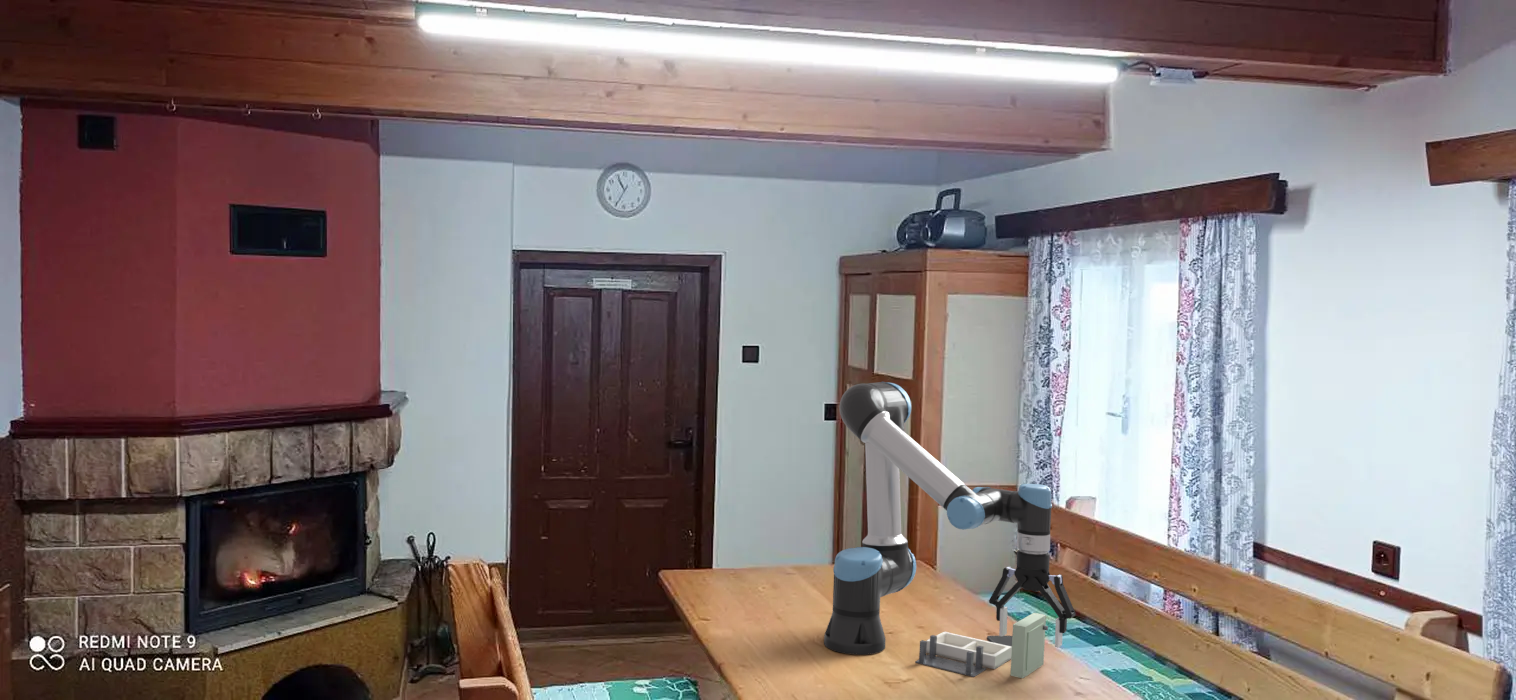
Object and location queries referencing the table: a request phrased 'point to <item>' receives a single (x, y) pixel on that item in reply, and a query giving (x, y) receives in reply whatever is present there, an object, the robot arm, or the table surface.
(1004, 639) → the smartphone
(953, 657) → the white divided tray
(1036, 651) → the door panel
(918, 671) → the table surface
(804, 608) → the table surface
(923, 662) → the grey four-post stand
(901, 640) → the table surface
